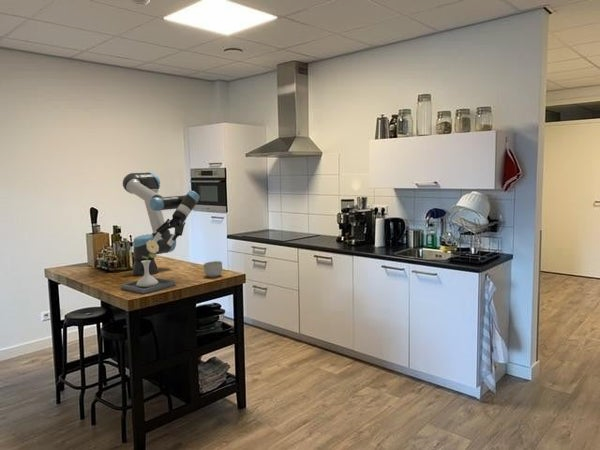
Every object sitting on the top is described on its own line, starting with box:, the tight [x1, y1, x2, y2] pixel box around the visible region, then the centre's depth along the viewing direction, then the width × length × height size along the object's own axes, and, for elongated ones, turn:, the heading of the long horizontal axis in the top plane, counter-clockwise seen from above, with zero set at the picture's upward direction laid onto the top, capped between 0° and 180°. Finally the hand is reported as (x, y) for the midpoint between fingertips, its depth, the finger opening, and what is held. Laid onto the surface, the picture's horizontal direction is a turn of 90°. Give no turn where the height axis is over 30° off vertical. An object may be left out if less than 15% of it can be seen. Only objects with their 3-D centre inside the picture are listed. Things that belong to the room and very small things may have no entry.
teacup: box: [203, 260, 223, 278], centre depth 274 cm, size 14×11×8 cm
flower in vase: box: [136, 240, 159, 287], centre depth 247 cm, size 13×11×25 cm
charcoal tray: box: [120, 276, 176, 295], centre depth 249 cm, size 20×20×2 cm
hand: (161, 243), depth 254 cm, fingers open, 13 cm apart
